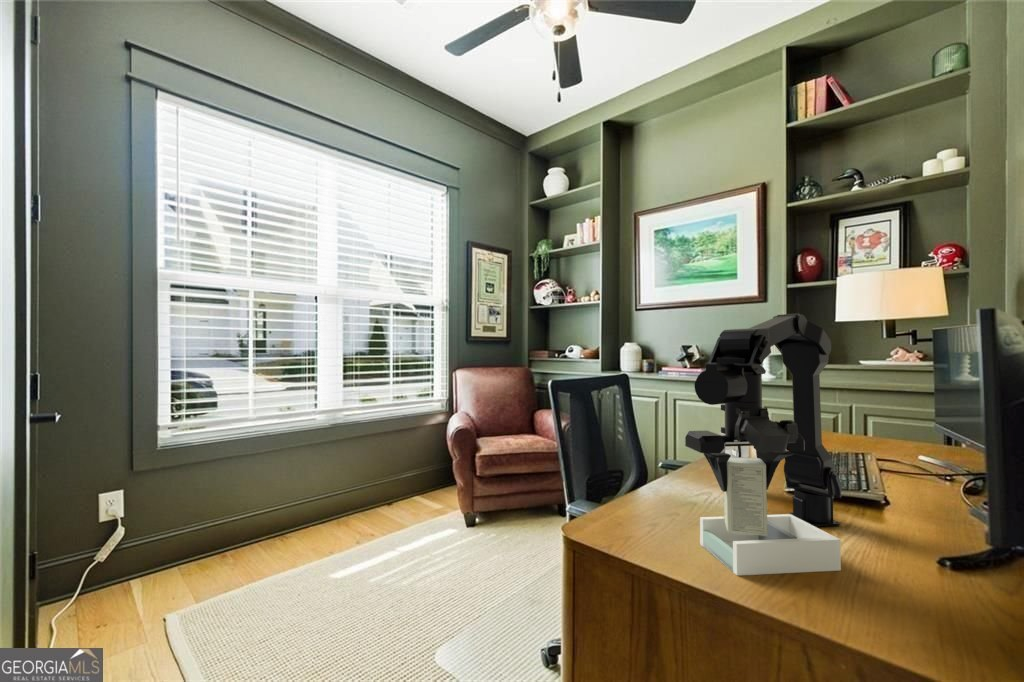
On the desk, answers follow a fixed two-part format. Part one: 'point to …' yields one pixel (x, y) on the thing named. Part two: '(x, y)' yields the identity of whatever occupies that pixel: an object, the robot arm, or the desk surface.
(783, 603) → the desk surface
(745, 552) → the box
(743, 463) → the skincare box
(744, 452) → the beer glass
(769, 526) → the tall grey panel
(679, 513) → the desk surface
